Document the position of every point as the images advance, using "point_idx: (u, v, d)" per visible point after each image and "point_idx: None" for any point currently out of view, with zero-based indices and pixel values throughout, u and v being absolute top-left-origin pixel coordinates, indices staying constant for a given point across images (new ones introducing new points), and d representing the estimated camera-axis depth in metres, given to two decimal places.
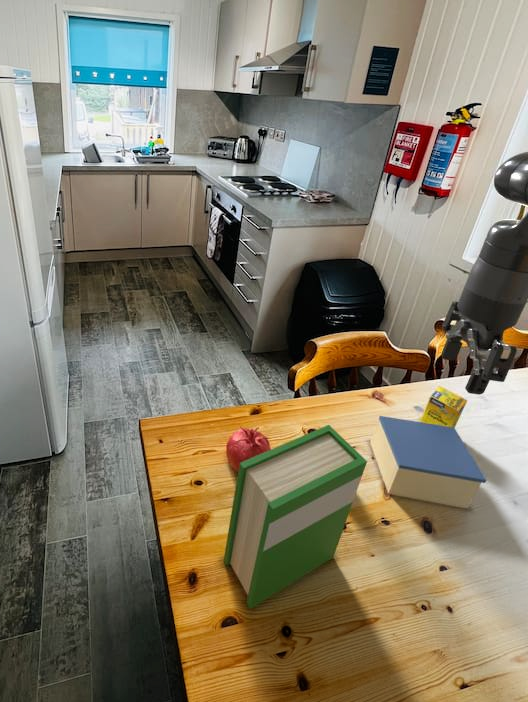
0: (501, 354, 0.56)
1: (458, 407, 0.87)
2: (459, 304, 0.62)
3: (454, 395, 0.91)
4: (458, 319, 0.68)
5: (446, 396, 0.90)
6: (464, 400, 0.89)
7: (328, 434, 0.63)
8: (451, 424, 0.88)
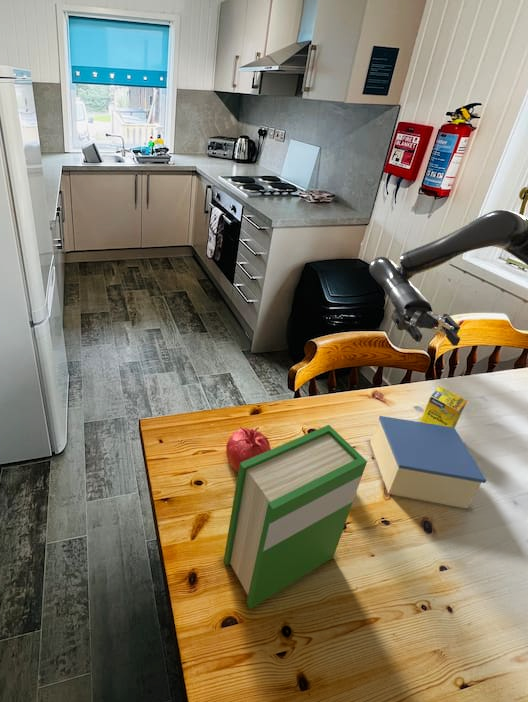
0: (392, 316, 1.03)
1: (458, 407, 0.87)
2: None
3: (454, 395, 0.91)
4: (448, 324, 1.00)
5: (446, 396, 0.90)
6: (464, 400, 0.89)
7: (328, 434, 0.63)
8: (451, 424, 0.88)
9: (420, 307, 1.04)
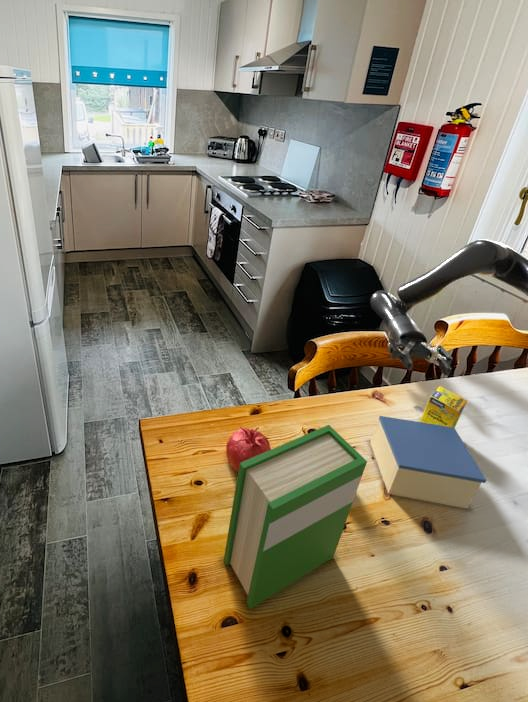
0: (388, 345, 1.09)
1: (458, 407, 0.87)
2: None
3: (454, 395, 0.91)
4: (441, 355, 1.05)
5: (446, 396, 0.90)
6: (464, 400, 0.89)
7: (328, 434, 0.63)
8: (451, 424, 0.88)
9: (415, 338, 1.09)
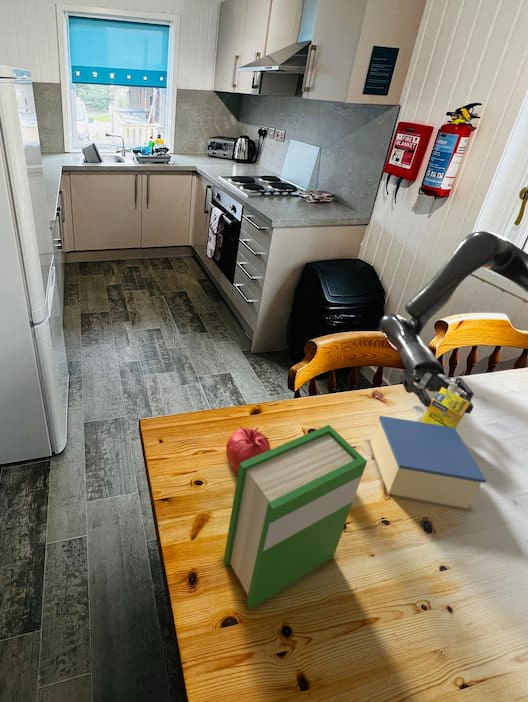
0: (401, 377, 0.99)
1: (461, 411, 0.86)
2: None
3: (457, 397, 0.89)
4: (461, 389, 0.95)
5: (449, 398, 0.89)
6: (467, 403, 0.88)
7: (328, 434, 0.63)
8: (453, 427, 0.87)
9: (432, 369, 0.99)
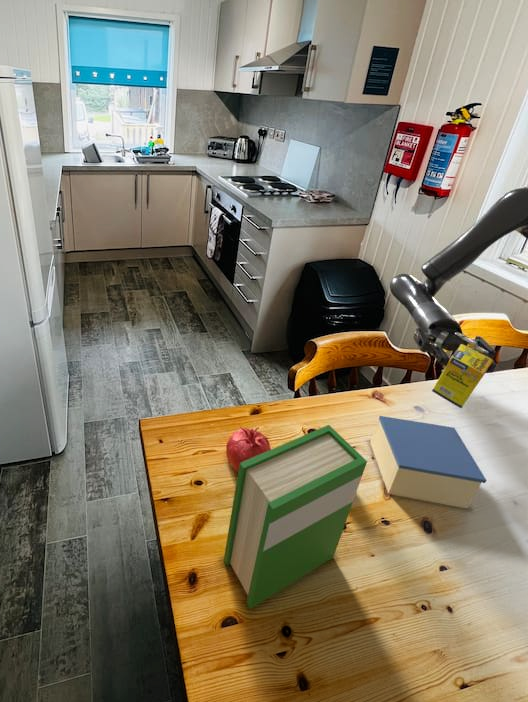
0: (415, 337, 0.91)
1: (483, 369, 0.78)
2: None
3: (478, 354, 0.81)
4: (481, 347, 0.87)
5: (469, 355, 0.81)
6: (489, 360, 0.80)
7: (328, 434, 0.63)
8: (473, 386, 0.79)
9: (448, 328, 0.91)
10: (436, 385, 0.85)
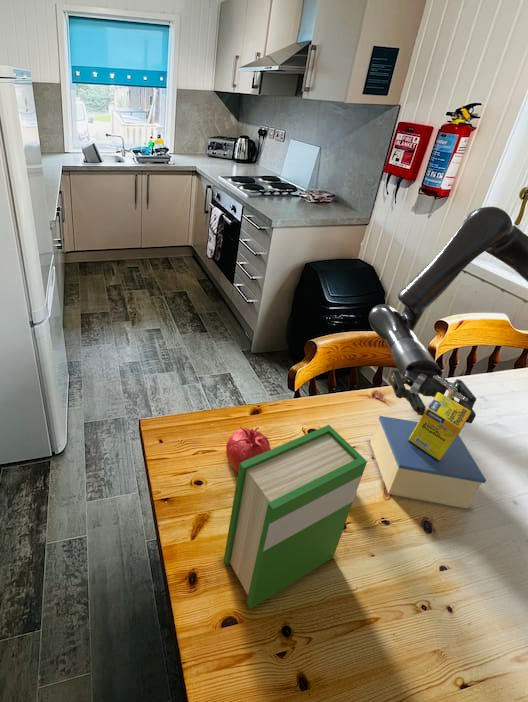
0: (391, 379, 0.84)
1: (461, 423, 0.72)
2: None
3: (456, 405, 0.75)
4: (461, 393, 0.80)
5: (446, 406, 0.74)
6: (467, 411, 0.74)
7: (328, 434, 0.63)
8: (450, 441, 0.73)
9: (427, 370, 0.84)
10: (412, 436, 0.79)
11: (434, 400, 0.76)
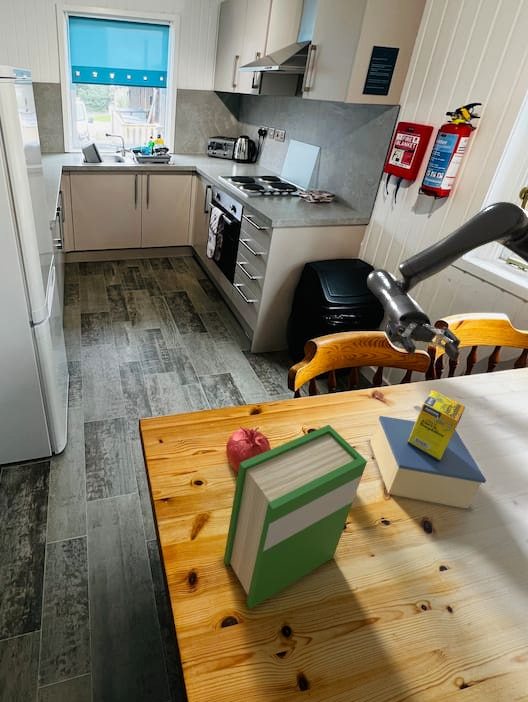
0: (386, 328, 0.95)
1: (457, 415, 0.73)
2: None
3: (450, 401, 0.77)
4: (447, 338, 0.91)
5: (441, 402, 0.76)
6: (462, 406, 0.76)
7: (328, 434, 0.63)
8: (449, 436, 0.74)
9: (417, 320, 0.95)
10: (411, 437, 0.79)
11: (429, 397, 0.78)
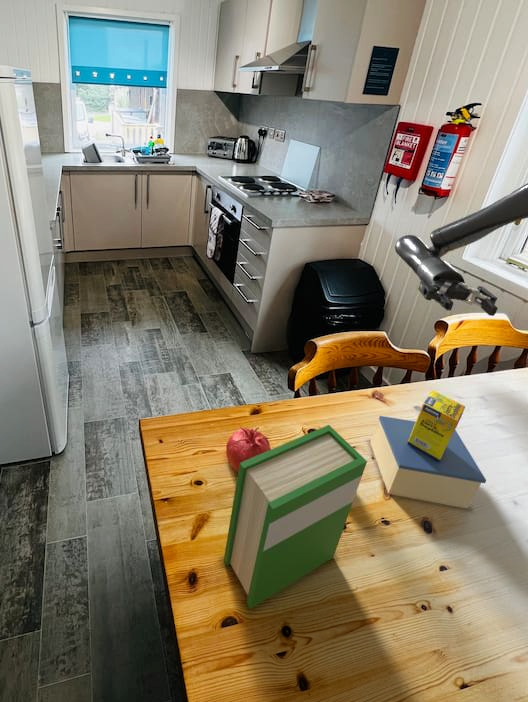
0: (420, 287, 0.95)
1: (457, 415, 0.73)
2: None
3: (450, 401, 0.77)
4: None
5: (441, 402, 0.76)
6: (462, 406, 0.76)
7: (328, 434, 0.63)
8: (449, 436, 0.74)
9: (451, 279, 0.95)
10: (411, 437, 0.79)
11: (429, 397, 0.78)
